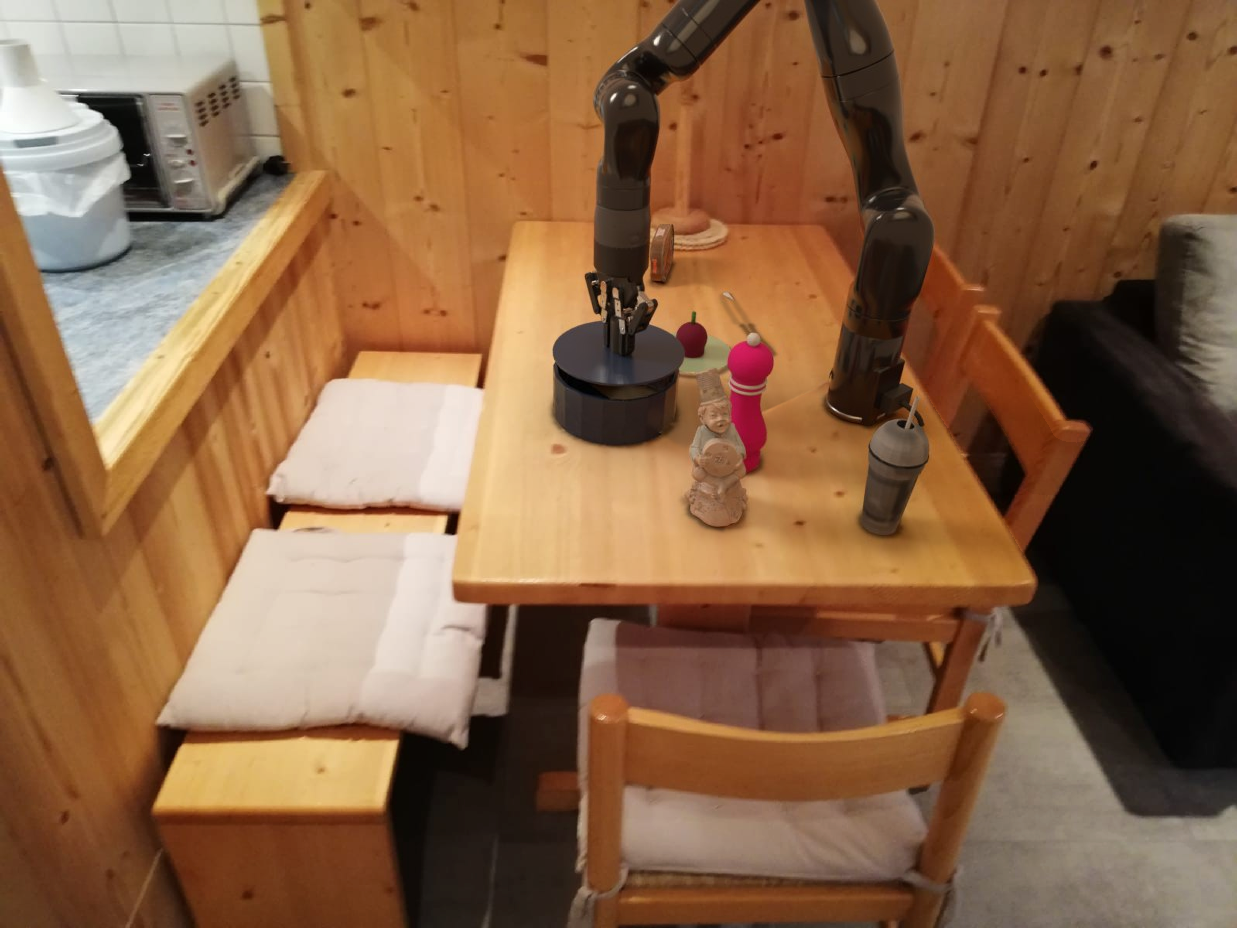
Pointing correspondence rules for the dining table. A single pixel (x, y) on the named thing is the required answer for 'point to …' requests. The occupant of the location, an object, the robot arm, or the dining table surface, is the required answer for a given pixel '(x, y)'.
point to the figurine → (716, 457)
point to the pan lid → (617, 355)
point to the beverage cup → (893, 472)
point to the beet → (692, 338)
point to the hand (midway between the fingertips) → (618, 349)
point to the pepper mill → (749, 394)
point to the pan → (612, 411)
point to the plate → (707, 357)
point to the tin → (662, 252)
